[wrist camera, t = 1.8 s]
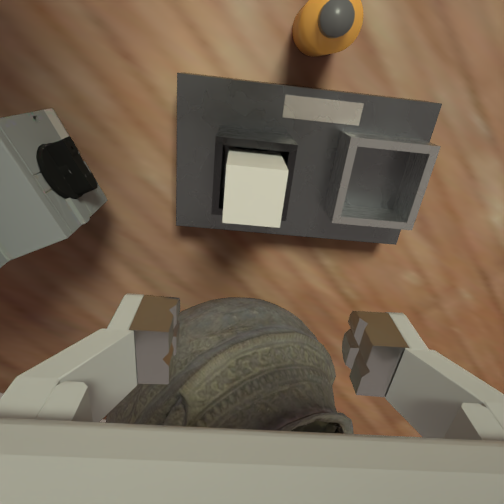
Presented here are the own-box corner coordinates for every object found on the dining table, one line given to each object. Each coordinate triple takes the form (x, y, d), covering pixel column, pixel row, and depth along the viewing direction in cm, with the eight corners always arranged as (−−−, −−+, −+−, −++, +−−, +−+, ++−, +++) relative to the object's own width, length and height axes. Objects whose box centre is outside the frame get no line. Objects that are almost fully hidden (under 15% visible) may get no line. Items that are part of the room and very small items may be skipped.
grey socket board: (183, 72, 28) (163, 73, 21) (423, 100, 29) (481, 110, 22) (181, 213, 33) (165, 251, 26) (384, 231, 35) (420, 272, 28)
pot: (111, 355, 41) (-41, 685, 19) (201, 221, 34) (121, 509, 12) (254, 418, 47) (265, 728, 25) (358, 315, 40) (506, 629, 17)
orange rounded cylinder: (296, -2, 26) (313, -25, 20) (343, 4, 26) (375, -17, 20) (288, 53, 28) (302, 48, 21) (333, 59, 28) (359, 55, 22)
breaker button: (229, 147, 24) (226, 164, 20) (280, 152, 25) (288, 170, 20) (225, 196, 26) (222, 222, 22) (273, 201, 26) (279, 227, 22)
